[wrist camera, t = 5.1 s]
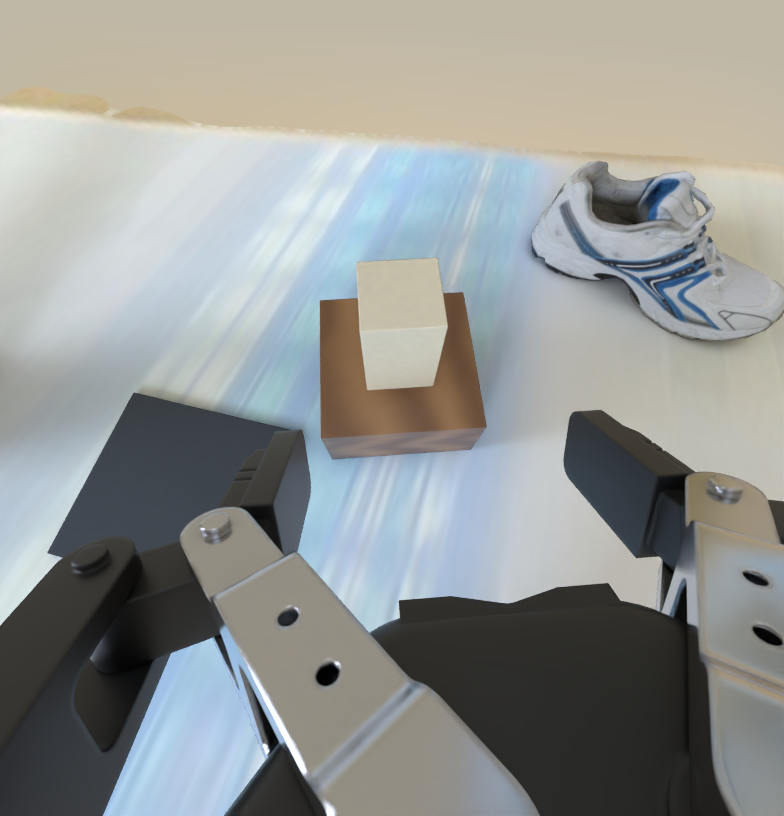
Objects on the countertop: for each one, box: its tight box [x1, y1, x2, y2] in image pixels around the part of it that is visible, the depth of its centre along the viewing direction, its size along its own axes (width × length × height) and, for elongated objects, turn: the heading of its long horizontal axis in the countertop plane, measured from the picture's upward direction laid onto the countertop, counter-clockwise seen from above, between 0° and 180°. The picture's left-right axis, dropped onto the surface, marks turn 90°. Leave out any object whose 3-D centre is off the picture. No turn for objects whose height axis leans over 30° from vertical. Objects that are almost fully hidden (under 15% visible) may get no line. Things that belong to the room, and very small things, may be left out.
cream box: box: [356, 258, 448, 390], centre depth 26 cm, size 5×5×8 cm
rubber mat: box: [48, 393, 292, 557], centre depth 32 cm, size 16×14×1 cm
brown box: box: [320, 292, 487, 459], centre depth 33 cm, size 12×12×6 cm
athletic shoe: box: [531, 161, 784, 341], centre depth 36 cm, size 10×23×12 cm, turn 65°
